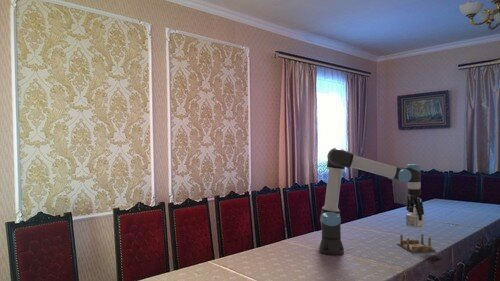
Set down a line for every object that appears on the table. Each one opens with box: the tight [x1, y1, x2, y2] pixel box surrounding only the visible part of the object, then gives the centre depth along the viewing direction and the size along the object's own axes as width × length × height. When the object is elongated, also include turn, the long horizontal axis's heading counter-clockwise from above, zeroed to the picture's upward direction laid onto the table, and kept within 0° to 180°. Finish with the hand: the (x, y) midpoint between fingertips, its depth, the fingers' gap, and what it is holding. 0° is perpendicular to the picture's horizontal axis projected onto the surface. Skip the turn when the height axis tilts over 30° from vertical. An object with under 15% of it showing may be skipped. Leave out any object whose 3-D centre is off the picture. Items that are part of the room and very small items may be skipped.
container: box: [405, 205, 426, 229], centre depth 220 cm, size 8×8×13 cm
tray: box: [396, 233, 436, 253], centre depth 219 cm, size 16×16×8 cm
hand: (415, 223), depth 220 cm, fingers closed on container, 9 cm apart
